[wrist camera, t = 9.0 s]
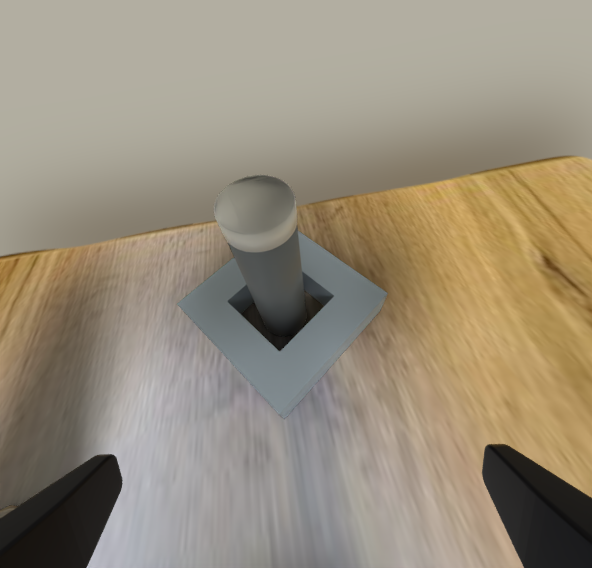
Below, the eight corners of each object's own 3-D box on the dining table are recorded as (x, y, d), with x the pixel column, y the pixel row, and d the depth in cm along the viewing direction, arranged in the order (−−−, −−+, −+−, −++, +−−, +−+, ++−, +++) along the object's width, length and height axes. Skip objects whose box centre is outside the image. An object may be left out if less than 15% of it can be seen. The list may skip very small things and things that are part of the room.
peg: (296, 343, 22) (274, 245, 12) (254, 327, 23) (198, 222, 13) (313, 303, 24) (307, 184, 13) (274, 290, 25) (238, 168, 14)
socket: (284, 419, 20) (279, 414, 17) (192, 319, 24) (176, 303, 22) (380, 310, 23) (387, 293, 21) (284, 240, 28) (281, 218, 25)
